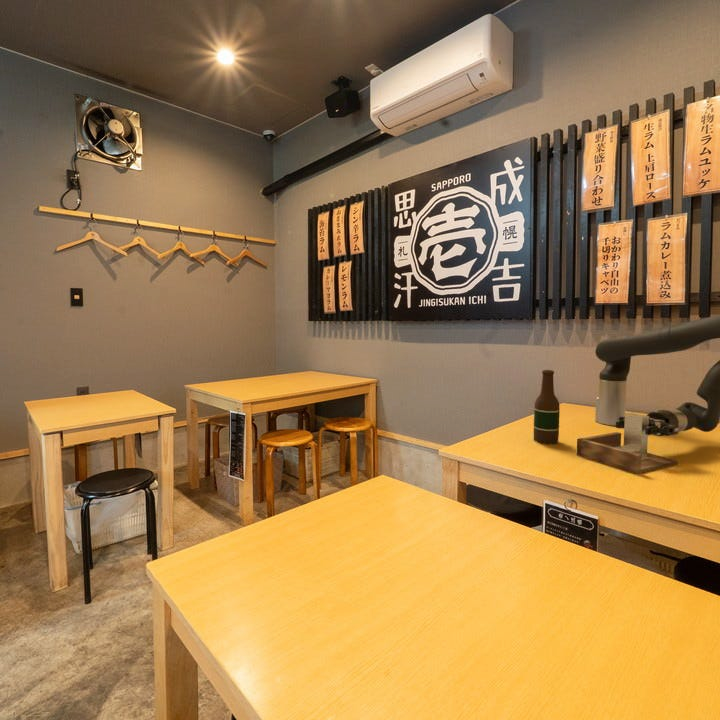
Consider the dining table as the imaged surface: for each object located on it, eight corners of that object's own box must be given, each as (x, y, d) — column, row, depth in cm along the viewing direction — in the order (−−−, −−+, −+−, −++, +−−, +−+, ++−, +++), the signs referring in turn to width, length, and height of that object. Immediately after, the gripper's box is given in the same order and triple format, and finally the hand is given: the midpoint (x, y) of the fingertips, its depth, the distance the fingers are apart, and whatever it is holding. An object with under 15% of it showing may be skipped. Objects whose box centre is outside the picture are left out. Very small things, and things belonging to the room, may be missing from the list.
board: (576, 455, 129) (576, 451, 128) (616, 447, 136) (616, 444, 136) (636, 474, 112) (636, 470, 112) (677, 464, 120) (677, 460, 120)
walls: (576, 451, 129) (577, 438, 128) (616, 444, 136) (616, 432, 136) (636, 470, 112) (637, 455, 112) (677, 460, 120) (678, 446, 119)
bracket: (629, 452, 127) (631, 412, 126) (646, 457, 123) (649, 416, 122) (609, 456, 123) (611, 415, 122) (626, 461, 119) (628, 419, 118)
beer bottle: (557, 439, 146) (559, 369, 144) (559, 445, 139) (562, 372, 137) (532, 437, 149) (534, 368, 147) (534, 443, 141) (536, 371, 139)
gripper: (642, 405, 136) (608, 410, 129) (693, 414, 123) (658, 420, 116) (641, 429, 136) (607, 434, 129) (691, 439, 123) (656, 447, 117)
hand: (631, 427), depth 123 cm, fingers open, 8 cm apart
